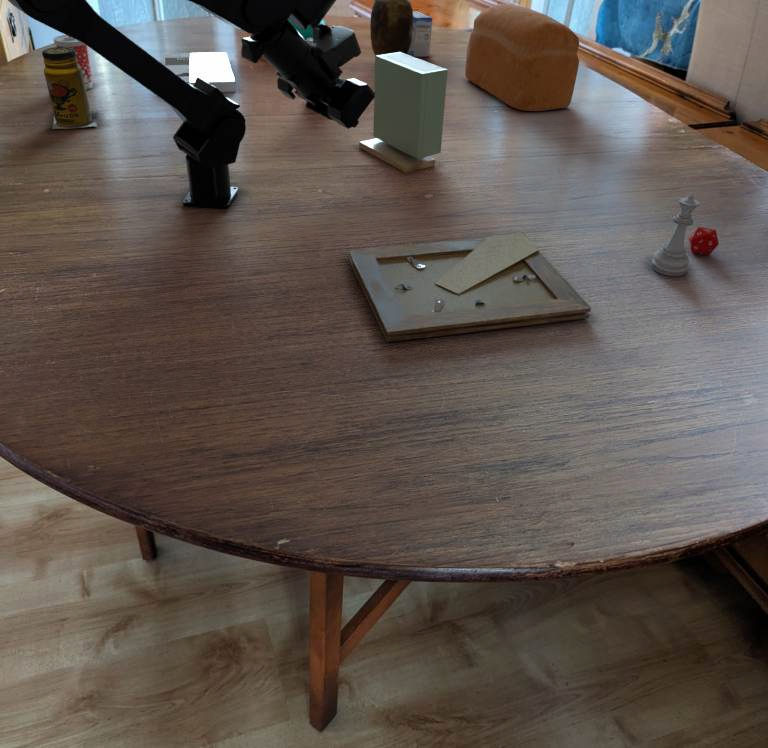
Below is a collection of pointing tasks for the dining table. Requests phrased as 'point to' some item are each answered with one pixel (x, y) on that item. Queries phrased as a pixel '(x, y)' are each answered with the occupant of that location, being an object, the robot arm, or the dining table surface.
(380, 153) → the shelf foot
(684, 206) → the chess piece
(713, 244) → the die
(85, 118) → the condiment
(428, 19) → the medicine box
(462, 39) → the dining table surface
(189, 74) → the book
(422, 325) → the picture frame
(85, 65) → the beverage cup
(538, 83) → the bread
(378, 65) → the green rectangular box
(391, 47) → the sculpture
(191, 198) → the robot arm
